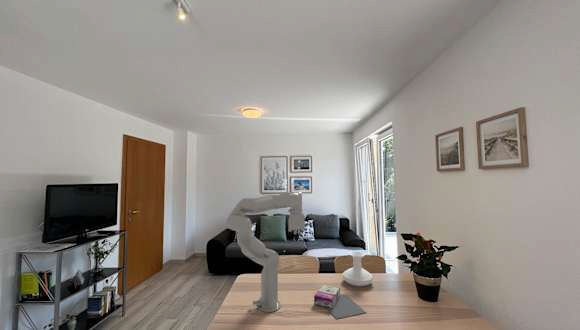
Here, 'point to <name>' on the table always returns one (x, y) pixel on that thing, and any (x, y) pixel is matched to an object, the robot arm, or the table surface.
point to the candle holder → (357, 272)
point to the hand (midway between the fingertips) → (296, 240)
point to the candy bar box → (327, 296)
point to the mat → (345, 308)
